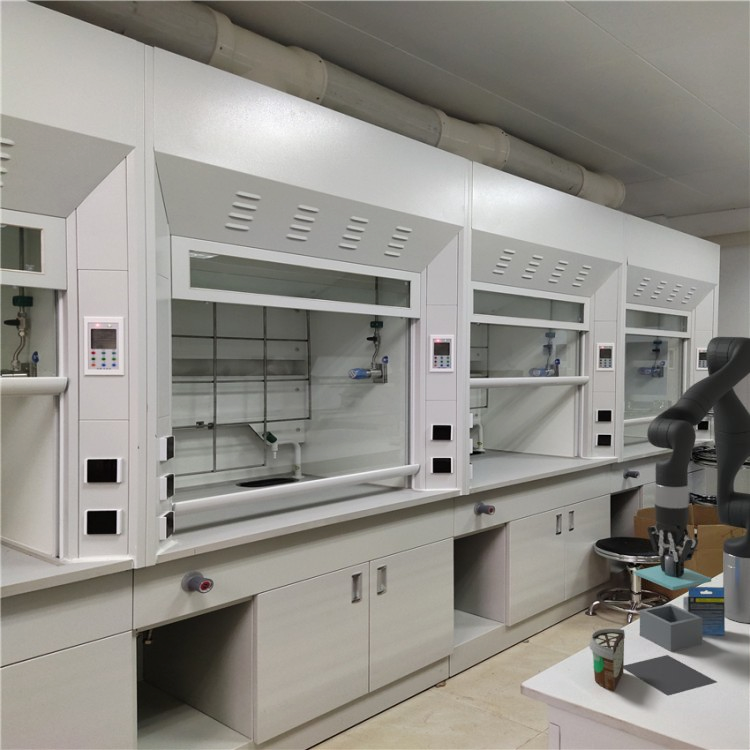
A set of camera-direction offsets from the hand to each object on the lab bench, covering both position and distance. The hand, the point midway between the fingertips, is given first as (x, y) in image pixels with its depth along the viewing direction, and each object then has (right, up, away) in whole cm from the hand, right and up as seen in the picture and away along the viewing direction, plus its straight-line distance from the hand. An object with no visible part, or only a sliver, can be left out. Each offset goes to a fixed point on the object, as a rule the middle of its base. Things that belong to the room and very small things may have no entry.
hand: (672, 573), depth 165 cm
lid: (0, -1, 0) cm, 1 cm away
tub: (+2, -18, +4) cm, 19 cm away
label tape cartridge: (+12, -18, +10) cm, 24 cm away
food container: (-21, -20, -14) cm, 32 cm away
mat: (-7, -19, -13) cm, 24 cm away
